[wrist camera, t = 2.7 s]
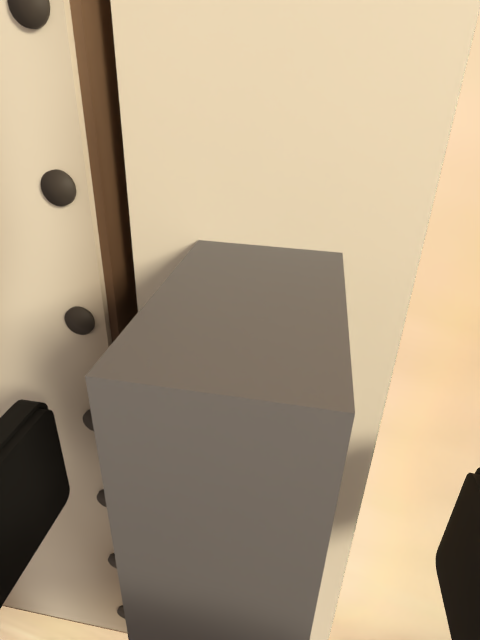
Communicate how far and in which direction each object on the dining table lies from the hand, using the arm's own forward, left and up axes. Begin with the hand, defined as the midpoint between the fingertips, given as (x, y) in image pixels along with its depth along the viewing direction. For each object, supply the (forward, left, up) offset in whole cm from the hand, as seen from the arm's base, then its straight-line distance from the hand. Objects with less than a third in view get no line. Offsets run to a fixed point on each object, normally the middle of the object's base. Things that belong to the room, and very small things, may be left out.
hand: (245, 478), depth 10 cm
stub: (0, 0, -3) cm, 3 cm away
